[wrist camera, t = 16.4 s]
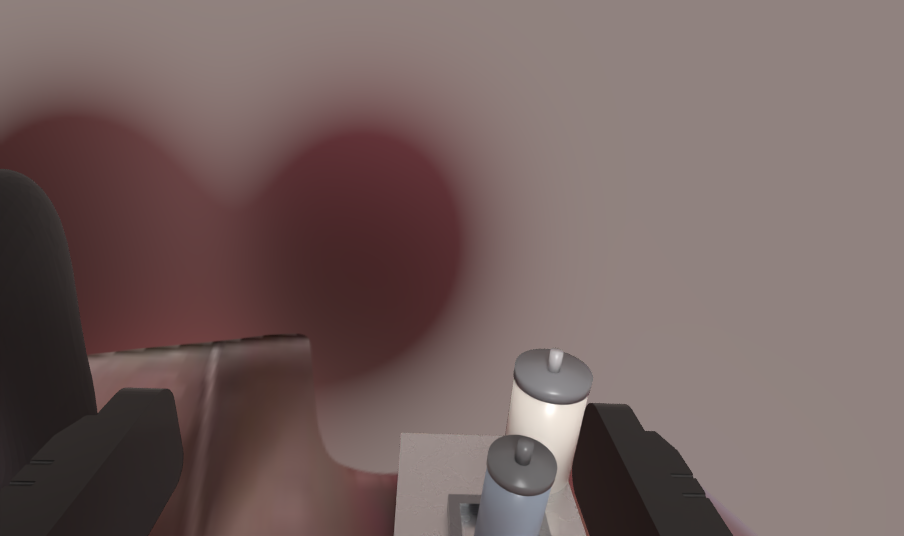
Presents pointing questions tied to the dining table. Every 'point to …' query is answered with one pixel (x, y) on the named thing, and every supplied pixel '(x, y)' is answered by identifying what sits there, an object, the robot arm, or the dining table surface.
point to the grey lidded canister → (515, 487)
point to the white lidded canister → (550, 404)
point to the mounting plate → (458, 488)
